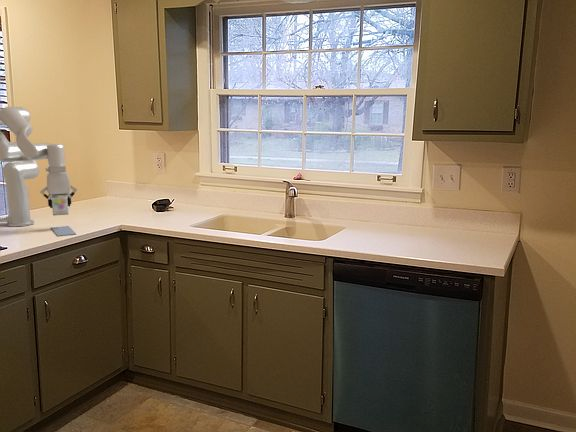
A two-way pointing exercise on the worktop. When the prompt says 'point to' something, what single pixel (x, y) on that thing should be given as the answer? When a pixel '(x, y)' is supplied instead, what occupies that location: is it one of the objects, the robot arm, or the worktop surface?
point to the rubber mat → (63, 231)
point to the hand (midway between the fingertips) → (60, 206)
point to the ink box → (59, 204)
